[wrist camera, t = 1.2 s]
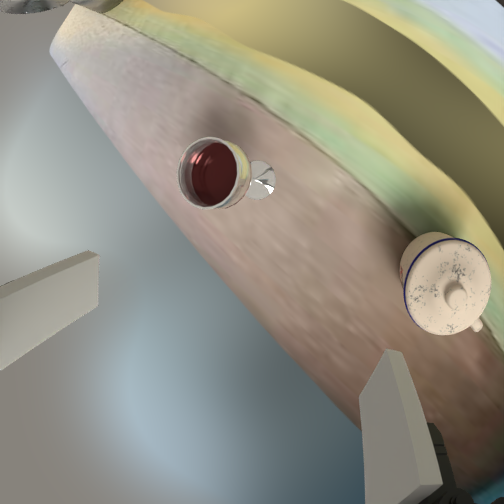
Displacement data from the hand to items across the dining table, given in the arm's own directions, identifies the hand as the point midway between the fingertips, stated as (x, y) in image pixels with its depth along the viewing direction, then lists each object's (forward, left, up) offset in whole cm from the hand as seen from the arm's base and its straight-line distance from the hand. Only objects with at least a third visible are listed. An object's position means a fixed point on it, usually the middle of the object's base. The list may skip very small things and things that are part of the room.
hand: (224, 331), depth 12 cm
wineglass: (+2, -12, -25) cm, 28 cm away
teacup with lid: (-9, +11, -25) cm, 29 cm away
